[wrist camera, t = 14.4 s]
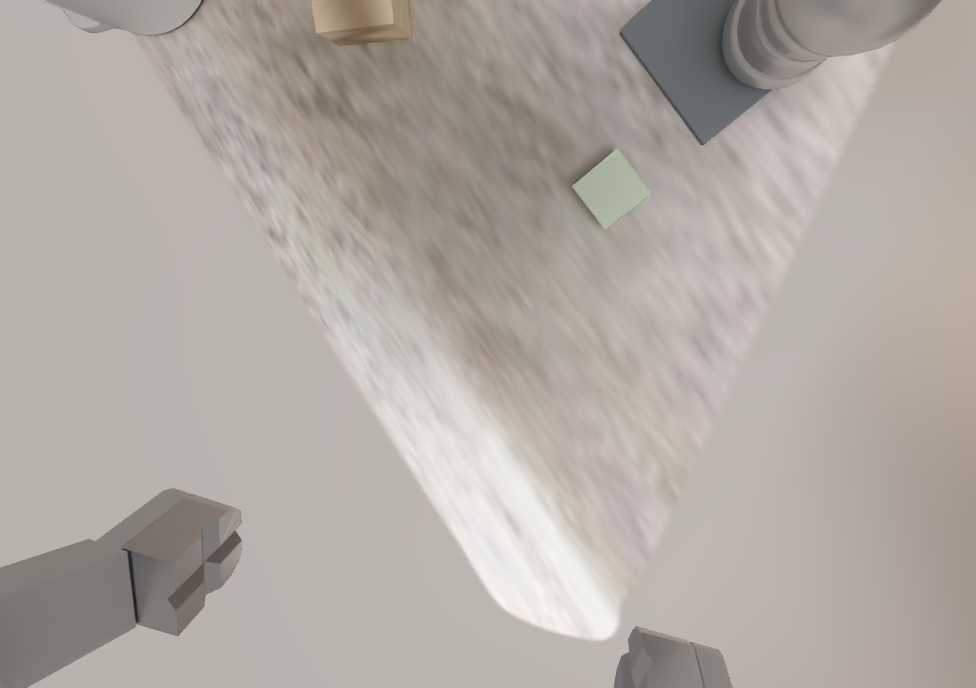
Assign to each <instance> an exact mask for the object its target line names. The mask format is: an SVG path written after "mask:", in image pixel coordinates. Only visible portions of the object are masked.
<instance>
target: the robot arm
mask: <svg viewBox="0 0 976 688" xmlns="http://www.w3.org/2000/svg"><path fill="white" fill-rule="evenodd" d="M41 1H43V2H46V3H48V4H50V5H53V6H55V7H58V8H61V9H62V10H63V11H64V13H65V14H66V16H67V17H68V18H69V20H70V21H71V22H72V23H73V25H75V26H76V27H78V28H80V29H82V30H85V31H87V32H90V33H97V32H103V31H106V30H110V29H113V28H116V29H122V30H126V31H129V32H133V33H137V34H142V35H157V34H162V33H166V32H169V31H171V30H173V29H175V28H177V27H179V26H180V25H181V24H183V23H184V22H185V21H186V20H187V19H188V18H189V17H190V16H191V15H192V14H193V13H194V12H195V10H196V9H197V7H198V6H199V4H200V2H201V1H202V0H41ZM240 524H242V520H241V511H240V510H238V509H236V508H234V507H231V506H228V505H225V504H221V503H219V502H216V501H213V500H209V499H206V498H203V497H200V496H197V495H193V494H190V493H187V492H184V491H181V490H178V489H174V488H171V489H168V490H164V491H163V492H161V493H159V494H158V495H157V496H155V497H154V498H153V499H151V500H150V501H149V502H147V503H146V504H145V505H144V506H142V507H141V508H139V509H138V510H137V511H135V512H134V513H133V514H131V515H130V516H129V517H127V518H126V519H125V520H123V521H122V522H121V523H119V524H118V525H117V526H115V527H114V528H113V529H111V530H110V531H108V532H107V533H106V534H104V535H103V536H102V537H101V538H99V539H98V540H96V541H94V540H90V539H87V540H84V541H82V542H78V543H75V544H72V545H69V546H66V547H63V548H60V549H56V550H53V551H50V552H47V553H44V554H41V555H38V556H35V557H32V558H29V559H26V560H22V561H19V562H16V563H13V564H10V565H7V566H4V567H1V568H0V688H27V687H29V686H31V685H32V684H34V683H36V682H38V681H39V680H41V679H43V678H45V677H47V676H49V675H51V674H52V673H54V672H56V671H58V670H60V669H61V668H63V667H65V666H67V665H69V664H70V663H72V662H74V661H76V660H78V659H79V658H81V657H83V656H85V655H87V654H88V653H90V652H92V651H94V650H96V649H97V648H99V647H101V646H103V645H104V644H106V643H108V642H110V641H112V640H114V639H115V638H117V637H119V636H121V635H123V634H124V633H126V632H128V631H130V630H131V629H133V628H135V627H136V624H138V625H141V626H145V627H148V628H151V629H155V630H158V631H162V632H165V633H169V634H172V635H175V636H179V635H180V633H181V632H182V631H183V630H184V629H185V628H186V627H187V626H188V625H189V623H190V622H191V621H192V620H193V619H194V617H196V615H197V614H198V613H199V612H200V611H201V610H202V609H203V608H204V605H205V595H206V594H208V593H211V592H213V591H215V590H217V589H219V588H221V587H222V586H223V585H224V583H225V582H226V581H227V580H228V579H229V577H230V576H231V575H232V573H233V571H234V569H235V567H236V566H237V564H238V562H239V558H240V555H241V551H242V540H241V538H240V537H239V535H238V534H237V532H236V531H235V530H236V529H237V528H238V527H239V526H240ZM628 643H629V652H628V653H626V654H624V655H623V656H621V659H620V662H619V665H618V667H617V671H616V677H615V683H614V688H733V687H732V684H731V681H730V677H729V674H728V671H727V668H726V664H725V661H724V658H723V655H722V654H721V652H720V651H719V650H717V649H714V648H710V647H707V646H703V645H700V644H696V643H693V642H688V641H687V640H683V639H680V638H676V637H673V636H669V635H666V634H662V633H658V632H655V631H652V630H648V629H645V628H641V627H638V626H636V627H635V628H634V629H633V630H632V632H631V635H630V637H629V639H628Z"/></svg>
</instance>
